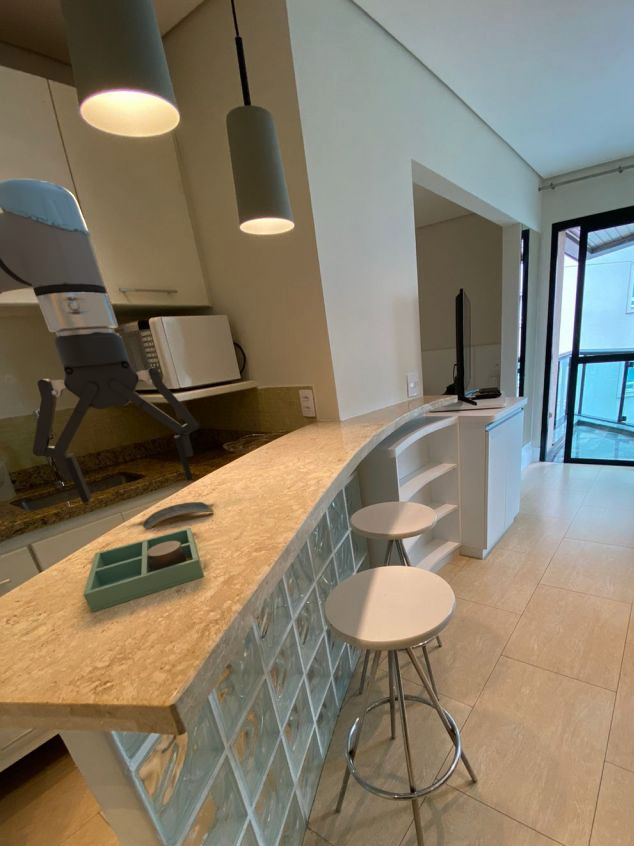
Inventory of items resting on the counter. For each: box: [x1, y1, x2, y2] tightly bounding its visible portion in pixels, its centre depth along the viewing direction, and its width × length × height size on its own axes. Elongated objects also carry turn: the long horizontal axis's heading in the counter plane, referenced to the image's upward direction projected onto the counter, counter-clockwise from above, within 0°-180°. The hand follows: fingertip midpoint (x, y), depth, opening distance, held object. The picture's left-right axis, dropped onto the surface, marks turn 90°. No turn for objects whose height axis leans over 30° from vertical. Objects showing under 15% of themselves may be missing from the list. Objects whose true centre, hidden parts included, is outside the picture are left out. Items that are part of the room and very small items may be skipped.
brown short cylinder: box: [147, 541, 187, 571], centre depth 66 cm, size 5×5×4 cm
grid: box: [83, 527, 205, 613], centre depth 67 cm, size 15×15×3 cm
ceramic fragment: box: [142, 501, 215, 530], centre depth 89 cm, size 14×5×4 cm, turn 109°
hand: (140, 488), depth 61 cm, fingers open, 13 cm apart
